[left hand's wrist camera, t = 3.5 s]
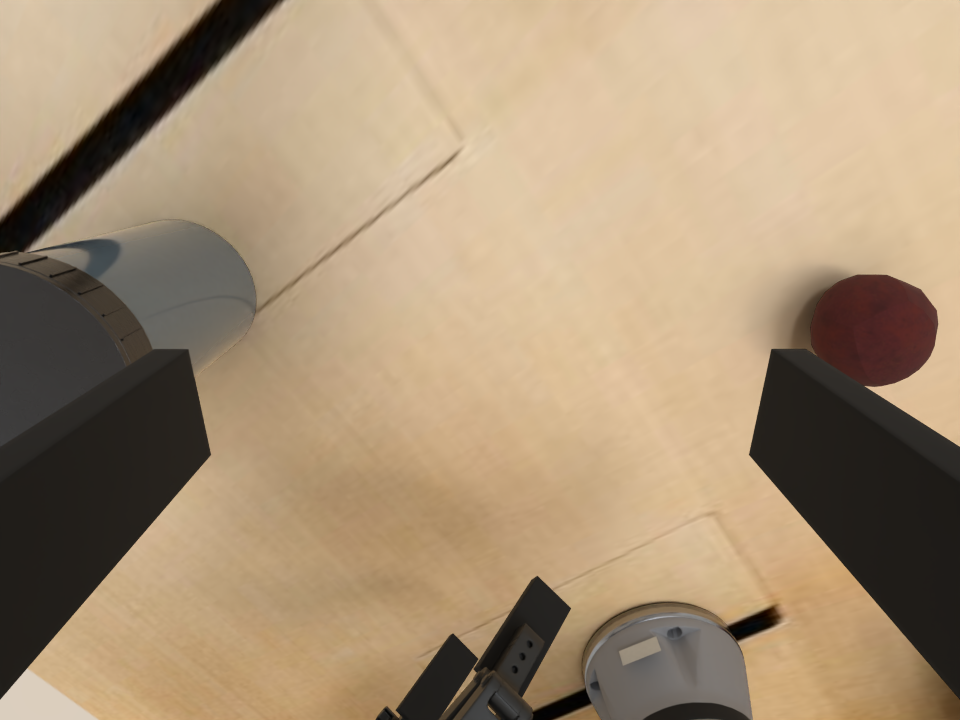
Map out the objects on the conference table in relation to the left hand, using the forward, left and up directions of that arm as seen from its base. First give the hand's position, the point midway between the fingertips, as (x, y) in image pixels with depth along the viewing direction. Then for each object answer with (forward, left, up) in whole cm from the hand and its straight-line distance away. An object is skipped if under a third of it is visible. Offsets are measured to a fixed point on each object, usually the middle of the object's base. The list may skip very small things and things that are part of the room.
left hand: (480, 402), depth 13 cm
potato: (+6, +27, -28) cm, 39 cm away
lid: (+5, -22, -12) cm, 25 cm away
